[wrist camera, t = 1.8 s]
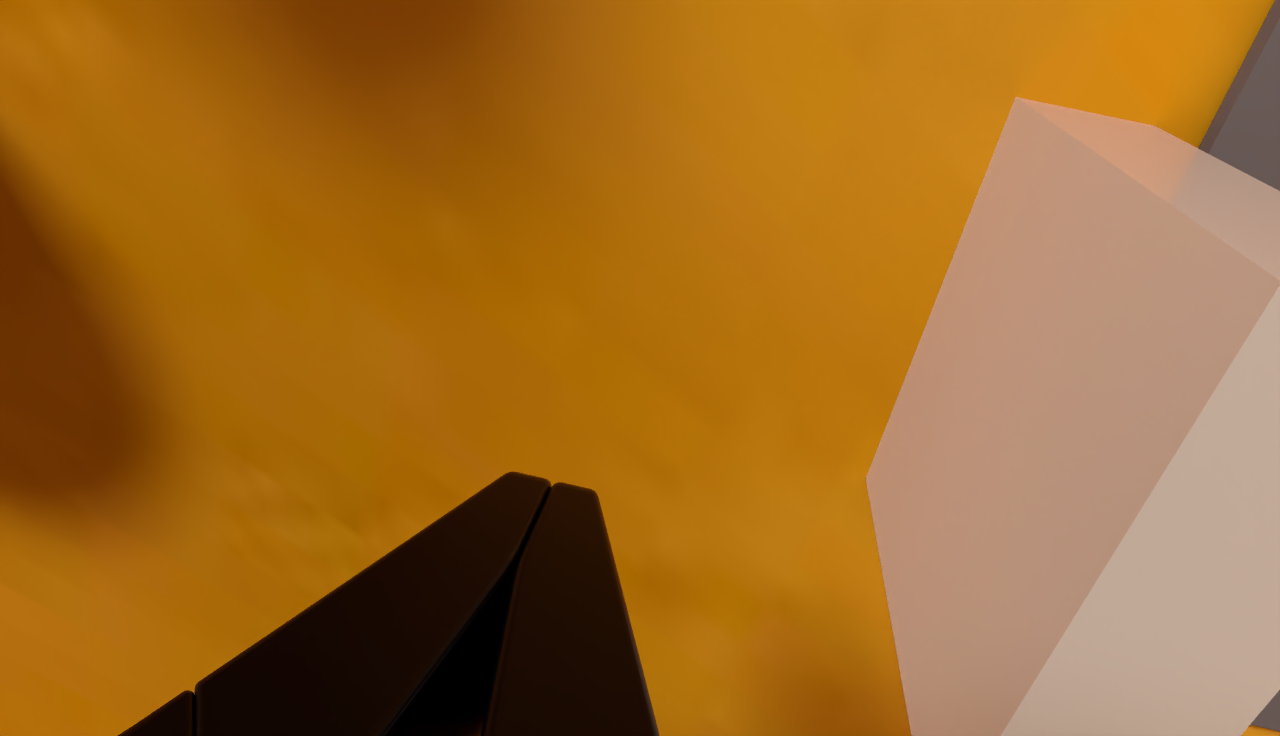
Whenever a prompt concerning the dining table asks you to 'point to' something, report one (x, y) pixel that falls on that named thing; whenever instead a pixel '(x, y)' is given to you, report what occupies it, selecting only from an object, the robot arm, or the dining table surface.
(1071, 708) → the block
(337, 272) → the dining table surface
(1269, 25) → the mat
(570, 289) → the dining table surface
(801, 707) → the dining table surface
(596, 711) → the robot arm
